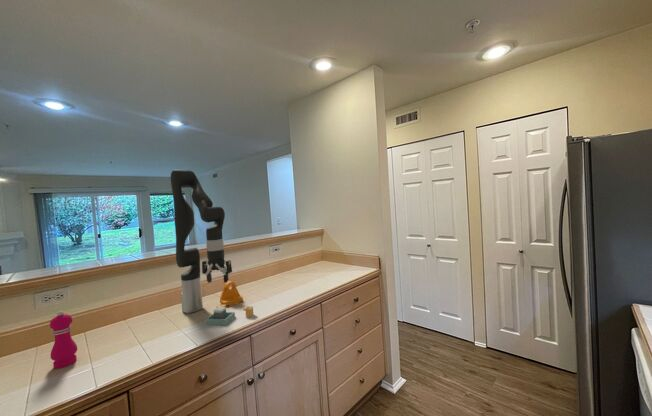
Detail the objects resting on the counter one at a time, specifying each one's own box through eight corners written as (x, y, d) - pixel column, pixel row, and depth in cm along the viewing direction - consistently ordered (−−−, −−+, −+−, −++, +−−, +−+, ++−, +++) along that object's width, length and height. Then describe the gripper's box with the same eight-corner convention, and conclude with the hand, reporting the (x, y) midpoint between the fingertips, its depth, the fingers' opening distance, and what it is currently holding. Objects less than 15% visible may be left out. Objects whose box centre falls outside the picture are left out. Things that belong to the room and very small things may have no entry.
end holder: (206, 324, 126) (205, 319, 126) (216, 316, 134) (215, 311, 134) (225, 325, 124) (225, 319, 124) (235, 317, 132) (234, 312, 132)
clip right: (253, 314, 134) (252, 306, 134) (250, 317, 131) (250, 309, 131) (246, 314, 135) (246, 306, 134) (243, 317, 132) (243, 309, 131)
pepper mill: (83, 357, 104) (78, 306, 104) (66, 368, 97) (60, 314, 96) (64, 358, 104) (59, 307, 103) (45, 370, 97) (40, 316, 96)
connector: (214, 322, 127) (213, 310, 127) (219, 318, 131) (218, 306, 131) (221, 323, 127) (220, 310, 126) (226, 319, 130) (225, 307, 130)
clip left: (217, 314, 137) (216, 306, 136) (220, 312, 140) (219, 304, 139) (223, 314, 136) (223, 307, 136) (226, 312, 139) (226, 304, 139)
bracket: (224, 307, 146) (222, 285, 145) (220, 304, 151) (218, 283, 151) (243, 301, 152) (242, 280, 152) (238, 298, 158) (237, 278, 158)
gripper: (196, 250, 125) (199, 284, 126) (224, 250, 123) (227, 285, 123) (206, 247, 133) (209, 279, 133) (233, 246, 130) (235, 279, 131)
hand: (217, 282), depth 128 cm, fingers open, 8 cm apart
